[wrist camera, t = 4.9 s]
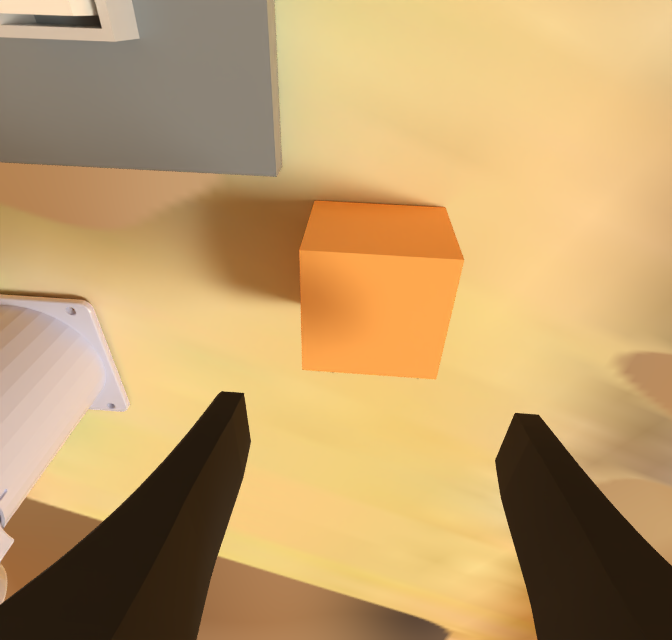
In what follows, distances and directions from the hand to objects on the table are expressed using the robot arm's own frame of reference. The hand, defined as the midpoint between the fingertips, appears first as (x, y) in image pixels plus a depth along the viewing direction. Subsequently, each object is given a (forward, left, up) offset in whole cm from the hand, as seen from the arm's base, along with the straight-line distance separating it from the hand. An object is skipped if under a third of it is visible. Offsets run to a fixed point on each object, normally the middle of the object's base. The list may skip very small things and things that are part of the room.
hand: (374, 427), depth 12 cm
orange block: (0, 0, -9) cm, 9 cm away
